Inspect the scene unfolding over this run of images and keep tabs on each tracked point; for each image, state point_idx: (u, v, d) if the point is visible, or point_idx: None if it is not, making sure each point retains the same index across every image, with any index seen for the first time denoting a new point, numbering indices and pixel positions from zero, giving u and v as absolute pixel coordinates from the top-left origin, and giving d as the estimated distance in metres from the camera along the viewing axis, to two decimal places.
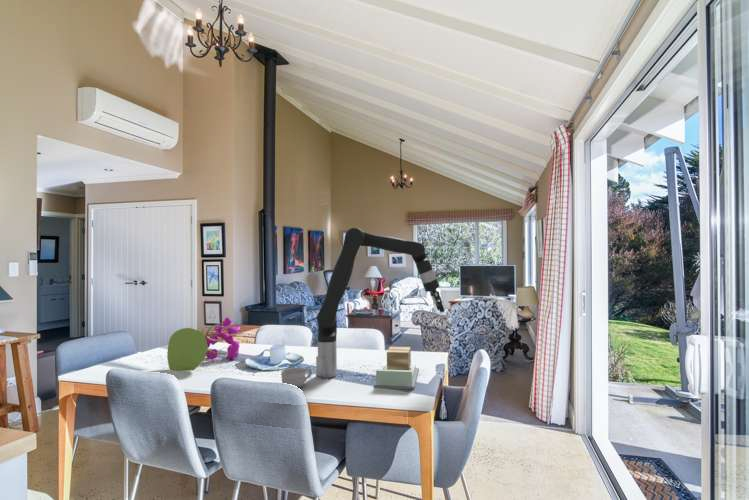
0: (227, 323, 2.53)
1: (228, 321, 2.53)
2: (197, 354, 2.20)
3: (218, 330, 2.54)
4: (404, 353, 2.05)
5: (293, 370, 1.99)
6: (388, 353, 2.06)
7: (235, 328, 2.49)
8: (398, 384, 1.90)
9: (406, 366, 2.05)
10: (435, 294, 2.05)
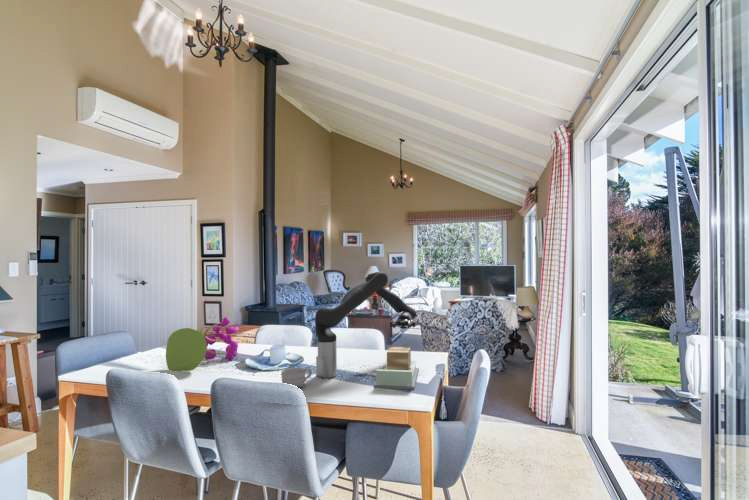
0: (225, 323, 2.53)
1: (226, 321, 2.53)
2: (196, 354, 2.20)
3: (216, 330, 2.53)
4: (404, 353, 2.05)
5: (293, 370, 1.99)
6: (388, 353, 2.06)
7: (233, 328, 2.49)
8: (398, 384, 1.90)
9: (406, 366, 2.05)
10: (415, 322, 2.30)
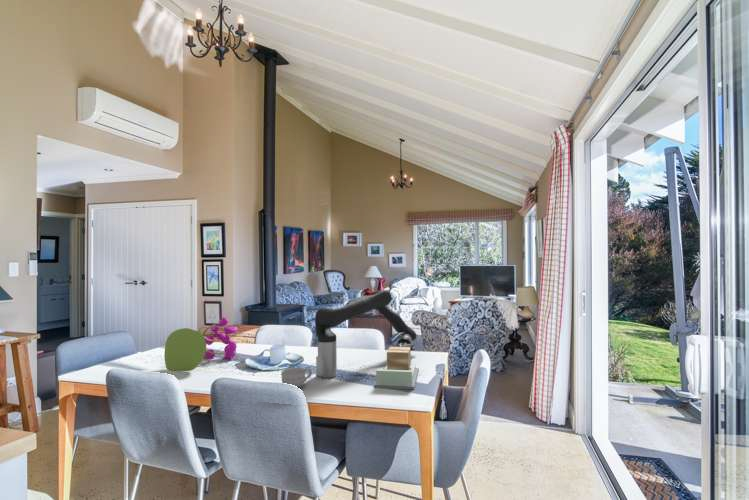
0: (224, 323, 2.52)
1: (225, 321, 2.53)
2: (196, 354, 2.20)
3: (214, 330, 2.53)
4: (404, 353, 2.05)
5: (293, 370, 1.99)
6: (388, 353, 2.06)
7: (232, 328, 2.49)
8: (398, 384, 1.90)
9: (406, 366, 2.05)
10: (413, 346, 2.28)
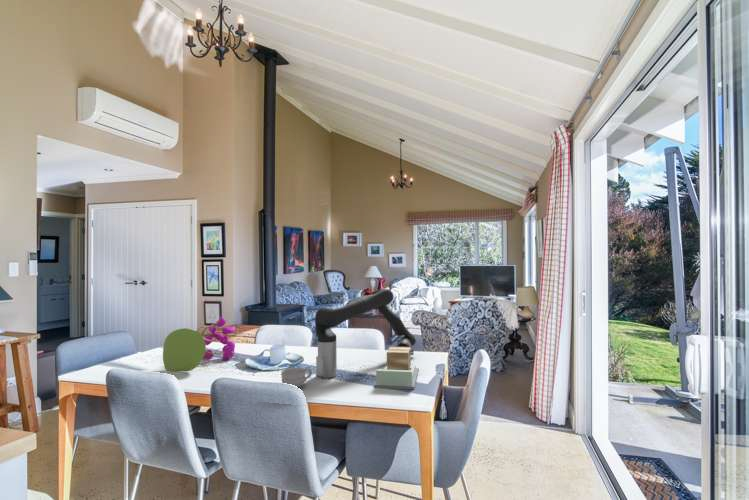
0: (222, 323, 2.52)
1: (223, 321, 2.52)
2: (195, 354, 2.20)
3: (212, 330, 2.52)
4: (404, 353, 2.04)
5: (293, 370, 1.99)
6: (388, 353, 2.06)
7: (230, 328, 2.48)
8: (398, 384, 1.90)
9: (406, 366, 2.04)
10: (412, 351, 2.24)
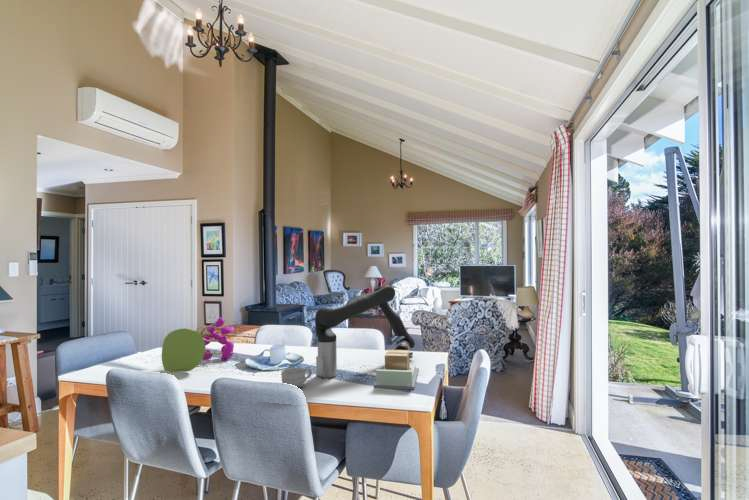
0: (220, 323, 2.52)
1: (221, 321, 2.52)
2: (194, 355, 2.19)
3: (211, 331, 2.52)
4: (403, 357, 1.98)
5: (293, 370, 1.99)
6: (386, 356, 1.99)
7: (229, 328, 2.48)
8: (398, 384, 1.90)
9: None
10: (411, 354, 2.18)
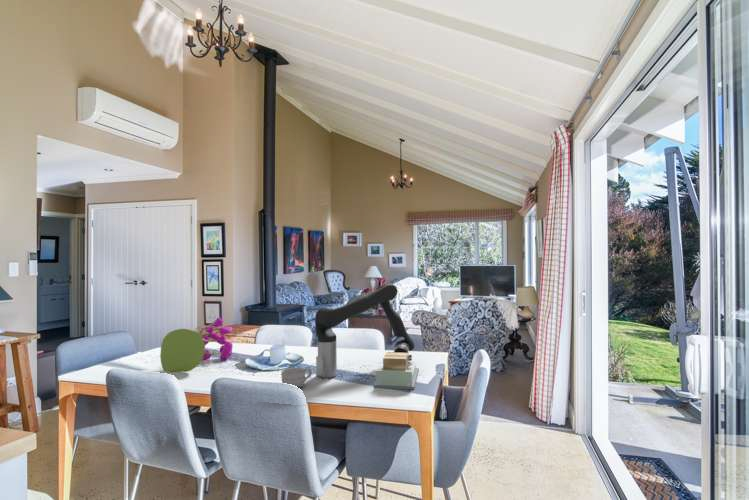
0: (219, 323, 2.52)
1: (220, 321, 2.52)
2: (194, 355, 2.19)
3: (209, 331, 2.52)
4: (401, 359, 1.93)
5: (293, 370, 1.99)
6: (384, 359, 1.94)
7: (228, 328, 2.48)
8: (398, 384, 1.90)
9: None
10: (411, 357, 2.12)
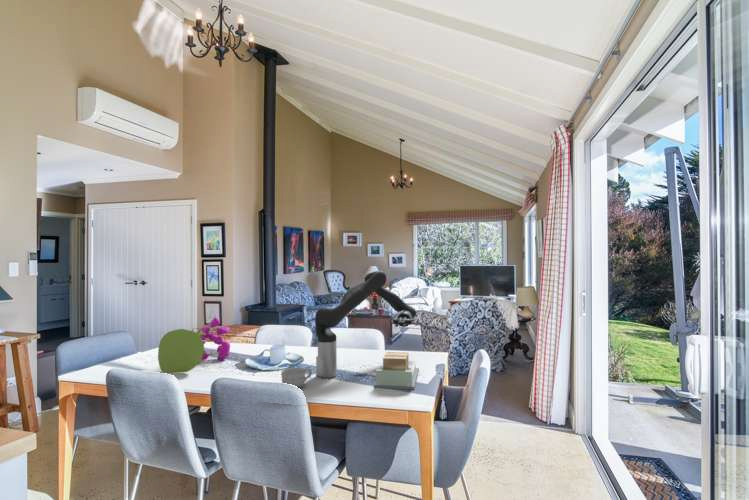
0: (215, 324, 2.51)
1: (217, 322, 2.51)
2: (193, 355, 2.18)
3: (206, 331, 2.51)
4: (401, 359, 1.93)
5: (293, 370, 1.99)
6: (384, 359, 1.94)
7: (225, 328, 2.48)
8: (398, 384, 1.90)
9: None
10: (413, 321, 2.28)
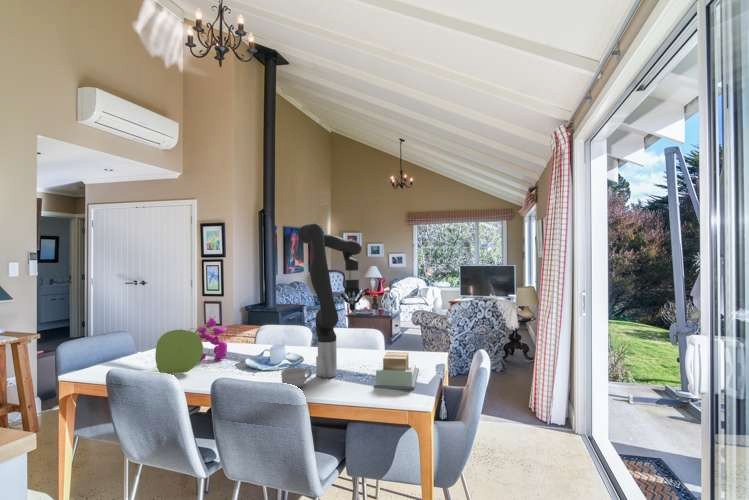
0: (212, 324, 2.51)
1: (213, 322, 2.51)
2: (192, 355, 2.18)
3: (202, 331, 2.50)
4: (401, 359, 1.93)
5: (293, 370, 1.99)
6: (384, 359, 1.94)
7: (222, 329, 2.48)
8: (398, 384, 1.90)
9: None
10: (362, 295, 2.30)
